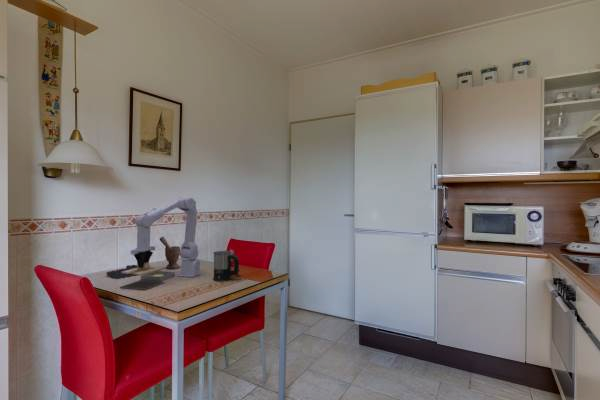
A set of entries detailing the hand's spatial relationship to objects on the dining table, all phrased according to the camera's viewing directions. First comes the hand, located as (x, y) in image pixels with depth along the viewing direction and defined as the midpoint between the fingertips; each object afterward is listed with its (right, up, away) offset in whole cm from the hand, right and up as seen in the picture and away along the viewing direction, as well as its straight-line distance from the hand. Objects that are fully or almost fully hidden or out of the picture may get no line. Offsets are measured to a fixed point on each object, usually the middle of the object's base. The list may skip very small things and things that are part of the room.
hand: (143, 266), depth 153 cm
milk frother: (+37, -10, +18) cm, 42 cm away
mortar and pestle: (-2, -9, +38) cm, 39 cm away
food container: (+31, -10, +47) cm, 57 cm away
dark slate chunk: (-19, -10, +23) cm, 32 cm away
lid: (0, -2, 0) cm, 2 cm away
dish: (0, -9, +15) cm, 18 cm away
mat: (0, -9, 0) cm, 9 cm away
